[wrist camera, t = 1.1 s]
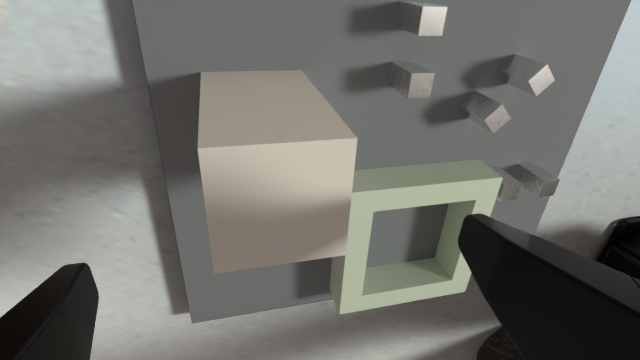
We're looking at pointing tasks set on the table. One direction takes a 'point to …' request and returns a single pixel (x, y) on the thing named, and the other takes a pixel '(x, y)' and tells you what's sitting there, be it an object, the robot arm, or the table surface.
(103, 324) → the table surface
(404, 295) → the end holder
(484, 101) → the set of small cubes
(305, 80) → the beige rectangular block
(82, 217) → the table surface
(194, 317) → the mat
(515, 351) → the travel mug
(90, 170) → the table surface
